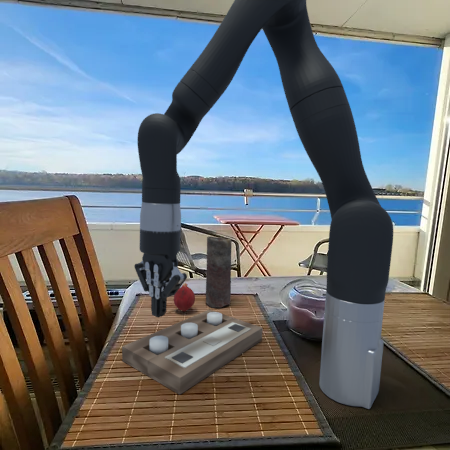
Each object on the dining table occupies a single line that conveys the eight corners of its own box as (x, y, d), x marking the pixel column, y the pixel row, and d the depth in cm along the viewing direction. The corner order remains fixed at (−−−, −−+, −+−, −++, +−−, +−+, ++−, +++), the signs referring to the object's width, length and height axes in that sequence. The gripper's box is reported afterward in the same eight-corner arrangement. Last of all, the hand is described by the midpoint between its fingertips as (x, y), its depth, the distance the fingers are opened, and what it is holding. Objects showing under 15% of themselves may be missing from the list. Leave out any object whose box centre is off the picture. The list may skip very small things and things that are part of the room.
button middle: (200, 336, 71) (201, 325, 71) (189, 342, 68) (189, 331, 68) (189, 331, 73) (189, 321, 73) (177, 337, 71) (177, 326, 70)
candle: (202, 300, 100) (204, 235, 97) (225, 298, 102) (228, 234, 99) (209, 309, 92) (211, 239, 90) (233, 307, 94) (236, 239, 92)
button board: (261, 340, 75) (262, 326, 75) (179, 394, 55) (180, 376, 54) (208, 320, 85) (209, 308, 84) (122, 360, 64) (122, 344, 64)
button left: (171, 351, 65) (172, 339, 64) (157, 358, 62) (157, 346, 61) (159, 345, 67) (159, 334, 66) (145, 352, 64) (145, 340, 64)
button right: (225, 324, 78) (225, 314, 78) (215, 329, 75) (215, 319, 75) (213, 320, 80) (213, 310, 80) (203, 325, 77) (203, 314, 77)
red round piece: (190, 316, 87) (191, 287, 86) (170, 314, 88) (170, 285, 87) (197, 309, 92) (197, 281, 91) (177, 306, 94) (178, 279, 93)
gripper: (200, 229, 60) (196, 319, 62) (153, 221, 68) (151, 301, 71) (169, 233, 54) (166, 332, 57) (122, 224, 63) (121, 311, 65)
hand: (158, 315), depth 64 cm, fingers closed
